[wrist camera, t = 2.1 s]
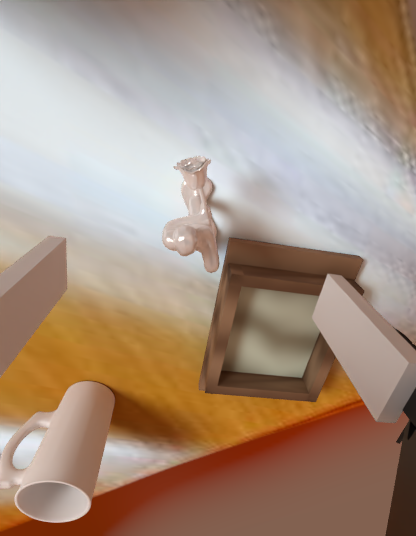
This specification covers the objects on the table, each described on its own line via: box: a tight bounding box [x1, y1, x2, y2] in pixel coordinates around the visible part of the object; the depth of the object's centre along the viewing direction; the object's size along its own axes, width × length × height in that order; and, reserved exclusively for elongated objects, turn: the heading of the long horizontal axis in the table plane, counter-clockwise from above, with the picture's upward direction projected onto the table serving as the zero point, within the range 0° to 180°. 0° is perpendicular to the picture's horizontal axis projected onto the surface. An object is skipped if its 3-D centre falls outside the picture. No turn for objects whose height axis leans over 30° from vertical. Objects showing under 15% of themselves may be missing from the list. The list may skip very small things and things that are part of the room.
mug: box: [0, 381, 115, 522], centre depth 34 cm, size 10×7×12 cm, turn 79°
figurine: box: [162, 156, 219, 273], centre depth 24 cm, size 5×9×12 cm, turn 16°
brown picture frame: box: [199, 238, 364, 402], centre depth 34 cm, size 20×14×4 cm
